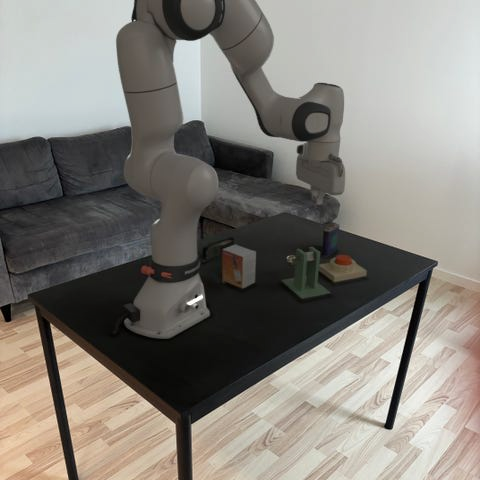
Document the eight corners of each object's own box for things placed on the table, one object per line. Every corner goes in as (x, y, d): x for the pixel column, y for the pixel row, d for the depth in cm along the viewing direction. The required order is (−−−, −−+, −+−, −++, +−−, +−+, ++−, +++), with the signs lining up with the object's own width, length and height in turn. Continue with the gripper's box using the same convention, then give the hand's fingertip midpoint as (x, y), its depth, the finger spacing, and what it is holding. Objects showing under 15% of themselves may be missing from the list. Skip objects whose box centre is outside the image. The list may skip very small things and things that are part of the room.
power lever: (285, 267, 140) (283, 256, 140) (294, 265, 141) (293, 255, 141) (305, 263, 128) (304, 251, 127) (316, 261, 129) (314, 249, 128)
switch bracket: (281, 283, 138) (283, 245, 132) (308, 278, 141) (311, 240, 135) (301, 302, 128) (304, 261, 122) (330, 296, 131) (334, 256, 125)
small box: (221, 283, 138) (221, 248, 132) (235, 277, 141) (235, 243, 136) (242, 291, 133) (242, 256, 128) (255, 285, 137) (256, 250, 131)
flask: (331, 247, 162) (334, 217, 156) (339, 249, 160) (342, 218, 155) (319, 256, 155) (322, 225, 149) (328, 258, 154) (331, 227, 148)
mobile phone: (229, 234, 159) (198, 246, 148) (236, 236, 157) (205, 248, 147) (228, 248, 161) (198, 261, 151) (235, 250, 159) (205, 263, 149)
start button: (340, 267, 138) (341, 261, 137) (332, 261, 141) (333, 256, 141) (353, 264, 139) (354, 259, 139) (345, 259, 143) (345, 253, 142)
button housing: (333, 285, 137) (335, 270, 135) (317, 272, 144) (318, 259, 142) (365, 278, 141) (367, 264, 138) (348, 267, 148) (350, 253, 146)
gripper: (354, 158, 119) (347, 212, 126) (313, 144, 135) (309, 193, 142) (332, 159, 117) (326, 215, 123) (293, 145, 133) (290, 195, 140)
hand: (316, 203), depth 133 cm, fingers closed
